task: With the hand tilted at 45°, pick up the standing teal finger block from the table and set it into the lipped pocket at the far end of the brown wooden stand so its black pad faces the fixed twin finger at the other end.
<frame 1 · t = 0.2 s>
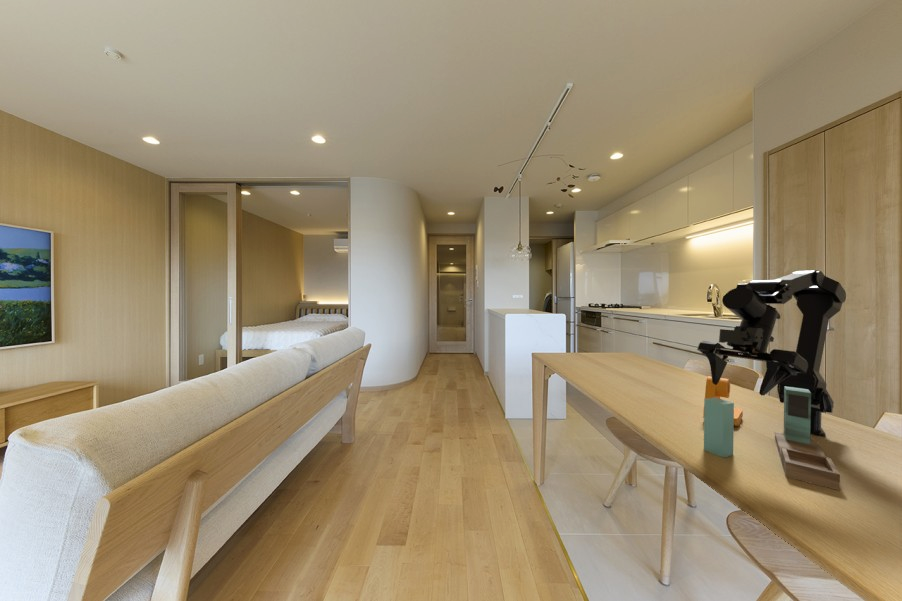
hand: (736, 389, 74), 15 cm above the table, tool tilted 30°, fingers open, 9 cm apart
brown wooden stand: (802, 460, 70), on the table
finger block: (718, 452, 74), on the table
bracket: (723, 420, 93), on the table
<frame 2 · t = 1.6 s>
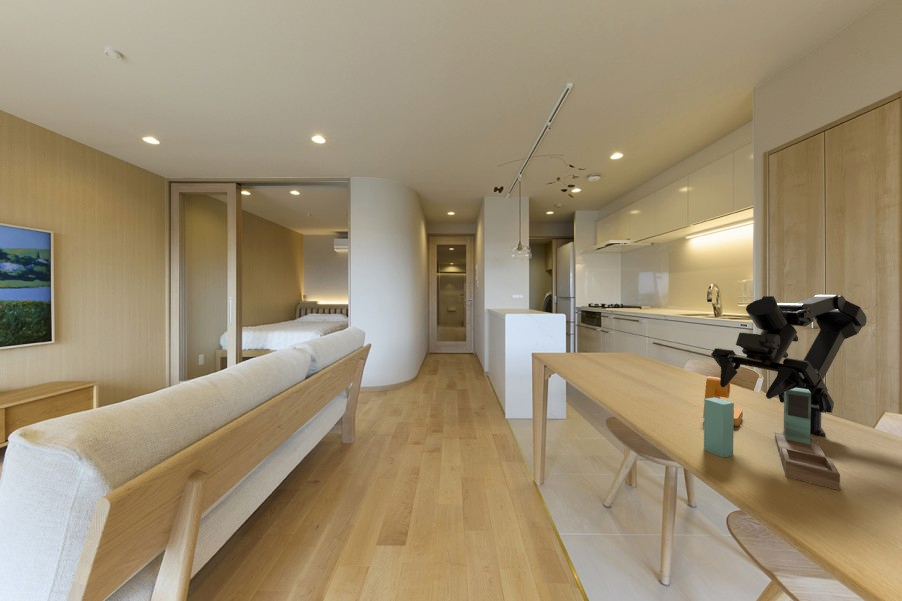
hand: (743, 391, 77), 13 cm above the table, tool tilted 45°, fingers open, 9 cm apart
nothing on the table moved.
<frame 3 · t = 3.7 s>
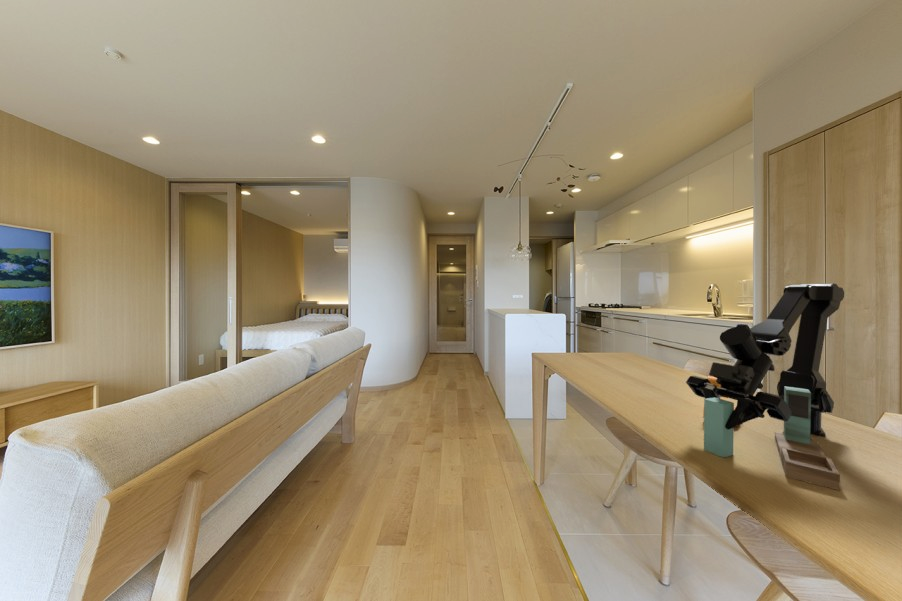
hand: (715, 424, 74), 7 cm above the table, tool tilted 45°, fingers closed on finger block, 4 cm apart
finger block: (718, 452, 74), on the table, touching gripper
everything else where it was.
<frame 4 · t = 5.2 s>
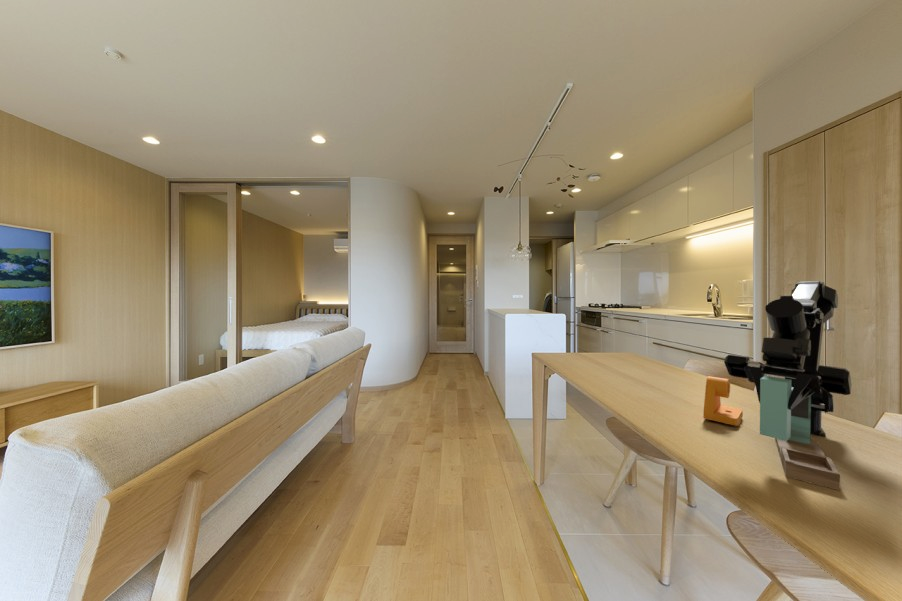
hand: (774, 405, 67), 13 cm above the table, tool tilted 45°, fingers closed on finger block, 4 cm apart
finger block: (774, 435, 68), point 7 cm above the table, touching gripper
everything else where it was.
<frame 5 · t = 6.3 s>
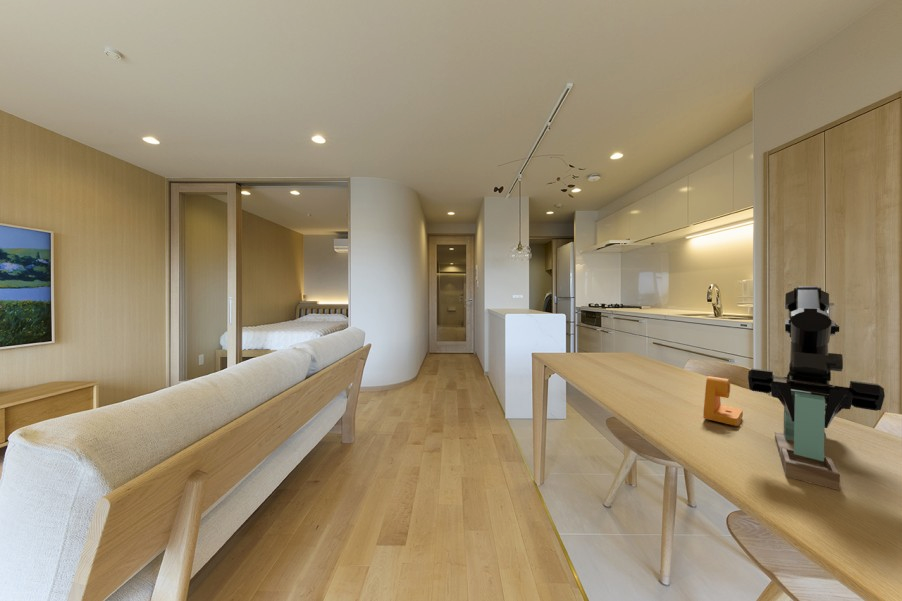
hand: (808, 423, 64), 11 cm above the table, tool tilted 45°, fingers closed on finger block, 4 cm apart
finger block: (808, 454, 65), point 4 cm above the table, touching gripper
everything else where it was.
when the fingers open (9 cm above the table, at t = 7.0 s): finger block stays where it is, resting on brown wooden stand.
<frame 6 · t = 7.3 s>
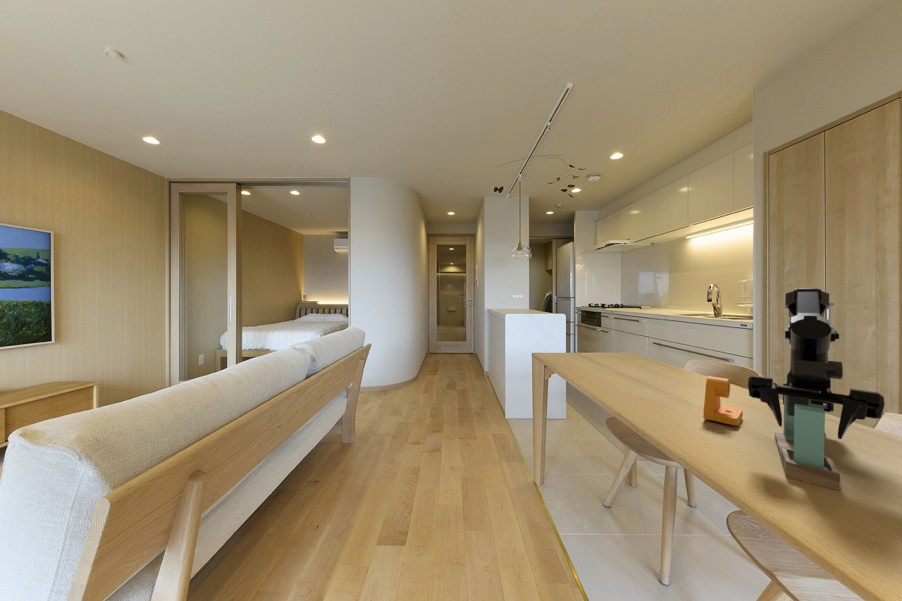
hand: (808, 431, 64), 9 cm above the table, tool tilted 45°, fingers open, 8 cm apart
finger block: (808, 466, 65), point 1 cm above the table, touching brown wooden stand
everything else where it was.
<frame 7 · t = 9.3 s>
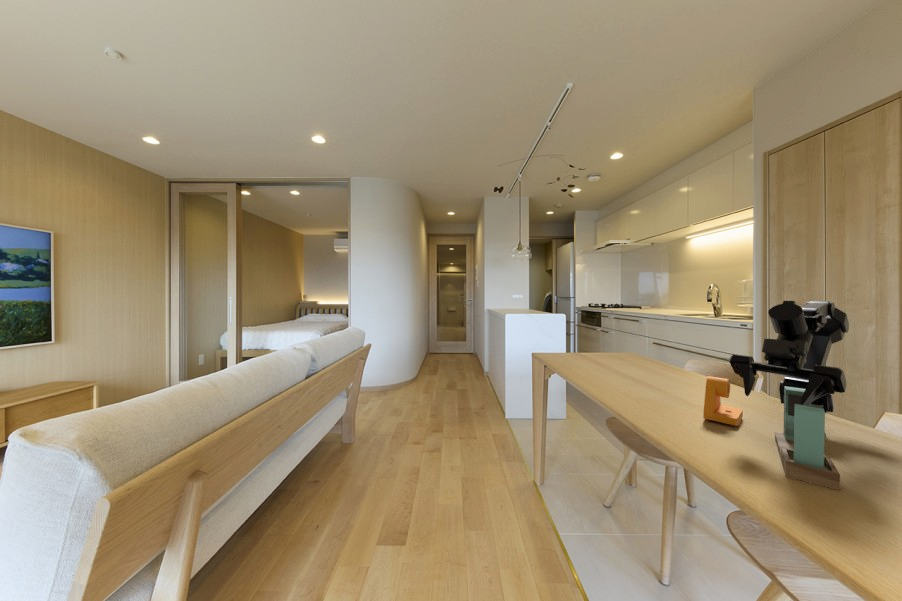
hand: (772, 400, 73), 12 cm above the table, tool tilted 45°, fingers open, 9 cm apart
nothing on the table moved.
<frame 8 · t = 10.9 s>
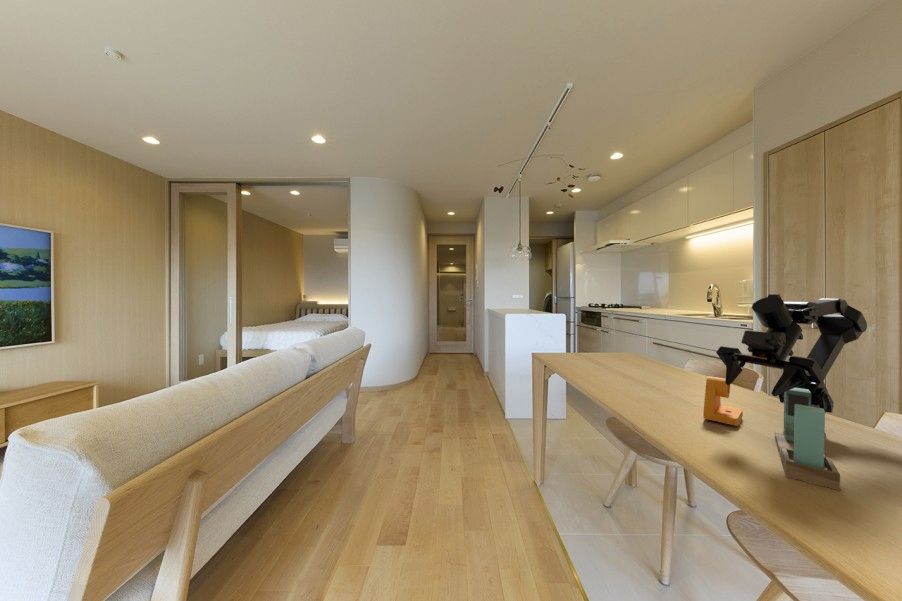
hand: (748, 389, 77), 14 cm above the table, tool tilted 45°, fingers open, 9 cm apart
nothing on the table moved.
at the end: finger block 0.0 cm from the target spot on the brown wooden stand, point 1.5 cm above the brown wooden stand's base; finger block tilted 0°; the gripper is holding nothing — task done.
